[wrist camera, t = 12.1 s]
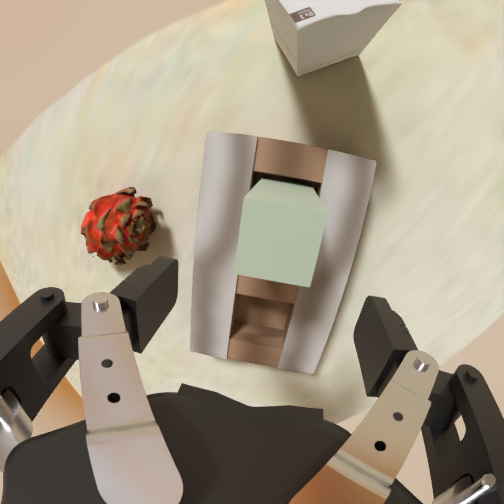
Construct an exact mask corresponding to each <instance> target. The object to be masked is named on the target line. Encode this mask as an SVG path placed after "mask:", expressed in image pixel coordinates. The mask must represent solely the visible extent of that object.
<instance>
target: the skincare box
mask: <svg viewBox="0 0 504 504" xmlns="http://www.w3.org/2000/svg"><path fill="white" fill-rule="evenodd" d="M265 3H266V6H267V10H268V14H269V18H270V23H271V27H272V31H273V35H274V39H275V40H276V42H277V43H278V45H279V47H280V48H281V50H282V51H283V53H284V55H285V56H286V58H287V60H288V61H289V63H290V65H291V66H292V68H293V70H294V72H295V73H296V75H297V76H298V77H299V76H302V75H305V74H307V73H310V72H313V71H315V70H318V69H321V68H324V67H326V66H329V65H332V64H335V63H338V62H340V61H343V60H345V59H348V58H351V57H355V56H358V55H359V54H360V53H361V52H362V51H363V50H364V48H365V47H366V46H367V45H368V43H369V42H370V41H371V40H372V38H373V37H374V36H375V35H376V33H377V32H378V31H379V30H380V29H381V28H382V26H383V25H384V24H385V23H386V22H387V20H388V19H389V18H390V17H391V16H392V14H393V13H394V12H395V11H396V10H397V9H398V7H399V6H400V5H401V3H400V1H399V0H265Z"/></svg>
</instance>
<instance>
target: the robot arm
mask: <svg viewBox="0 0 504 504" xmlns="http://www.w3.org/2000/svg"><path fill="white" fill-rule="evenodd" d="M177 293H178V261H177V260H176V259H171V258H167V257H162V256H160V257H158V258H157V259H156V260H155V261H154V262H153V263H152V264H151V265H145V266H142V267H140V268H137V269H136V270H135V271H134V272H133V273H131V275H129V276H128V277H127V278H126V279H125V280H123V281H122V282H121V283H120V284H119V285H118V286H117V287H116V288H114V289H113V290H112V291H111V292H110V293H105V292H100V293H94V294H91V295H89V296H87V297H86V298H85V299H84V300H83V301H82V303H73V302H66V301H65V296H64V292H63V291H62V290H61V289H59V288H54V287H48V288H43V289H40V290H38V291H37V292H35V293H34V294H33V295H31V296H30V297H29V298H28V299H27V300H25V301H24V302H23V303H22V304H20V305H19V306H18V307H17V308H16V309H15V310H13V311H12V312H11V313H10V314H9V315H7V316H6V317H5V318H4V319H3V320H2V321H1V322H0V471H1V472H2V473H3V494H2V501H1V504H423V503H421V501H419V500H418V499H417V498H416V497H415V496H414V495H413V494H412V493H411V492H410V491H409V490H408V489H407V488H406V487H404V486H403V485H402V484H401V483H400V482H399V481H398V480H397V479H396V478H395V477H396V476H397V474H398V472H399V471H400V469H401V467H402V465H403V463H404V461H405V460H406V458H407V456H408V454H409V452H410V450H411V448H412V446H413V444H414V442H415V440H416V438H417V436H418V434H419V432H420V429H421V431H422V435H423V439H424V444H425V448H426V453H427V458H428V464H429V469H430V475H431V481H432V488H433V495H434V500H433V502H432V504H504V419H503V417H502V414H501V412H500V410H499V408H498V406H497V403H496V401H495V399H494V397H493V395H492V393H491V391H490V389H489V387H488V385H487V383H486V381H485V379H484V377H483V376H482V374H481V373H480V372H479V371H478V370H477V369H476V368H474V367H472V366H470V365H465V364H463V365H460V366H459V367H458V368H457V370H456V371H455V373H454V374H450V373H447V372H443V371H440V370H439V366H438V363H437V362H436V360H435V359H434V358H433V357H432V356H431V355H429V354H427V353H425V352H423V351H419V350H418V349H417V347H416V345H415V343H414V341H413V339H412V337H411V335H410V333H409V331H408V329H407V327H405V326H406V325H405V323H404V322H403V320H402V318H401V317H400V316H399V315H398V314H397V313H396V312H395V311H392V310H391V308H390V306H389V304H388V302H387V300H386V299H385V298H381V297H375V296H368V297H367V298H366V300H365V302H364V305H363V308H362V310H361V313H360V316H359V318H358V321H357V323H356V326H355V330H354V343H355V347H356V351H357V355H358V359H359V363H360V367H361V372H362V376H363V381H364V385H365V390H366V394H367V396H369V397H378V400H377V401H376V403H375V404H374V406H373V407H372V408H371V410H370V411H369V413H368V414H367V415H366V417H365V418H364V419H363V421H362V422H361V423H360V425H359V426H358V427H357V428H356V430H355V431H354V432H353V434H350V433H349V432H348V431H347V430H345V429H343V428H342V427H340V426H338V425H336V424H334V423H332V422H329V421H327V420H324V419H323V409H316V408H306V407H297V406H289V405H288V406H269V407H251V406H247V405H245V404H242V403H240V402H238V401H235V400H233V399H231V398H228V397H226V396H224V395H221V394H219V393H217V392H214V391H209V390H205V389H201V388H197V387H194V386H190V385H186V384H181V386H180V389H179V391H178V393H175V392H164V393H155V394H150V395H146V393H145V390H144V387H143V384H142V381H141V378H140V374H139V371H138V368H137V364H136V361H135V357H134V354H133V351H135V352H138V353H142V352H143V350H144V349H145V347H146V346H147V344H148V343H149V341H150V340H151V338H152V337H153V336H154V334H155V333H156V331H157V330H158V328H159V327H160V325H161V324H162V323H163V321H164V320H165V318H166V317H167V315H168V314H169V312H170V311H171V310H172V308H173V307H174V305H175V303H176V299H177ZM41 336H42V338H43V340H44V343H45V344H44V346H43V347H42V348H41V349H40V350H39V351H38V352H37V353H36V354H35V356H34V357H33V358H32V359H31V356H30V353H31V348H32V346H33V345H34V344H35V342H37V340H38V339H39V338H40V337H41ZM76 360H79V366H80V379H81V389H82V398H83V405H84V413H85V420H83V421H80V422H77V423H74V424H72V425H69V426H66V427H63V428H60V429H57V430H54V431H51V432H48V433H45V434H42V435H38V436H35V437H31V435H32V431H33V425H32V421H33V420H34V418H35V417H36V415H37V414H38V412H39V411H40V409H41V408H42V406H43V405H44V403H45V402H46V401H47V399H48V398H49V396H50V395H51V394H52V392H53V391H54V389H55V388H56V387H57V385H58V384H59V383H60V381H61V380H62V378H63V377H64V376H65V374H66V373H67V372H68V370H69V369H70V368H71V366H72V365H73V364H74V362H75V361H76ZM461 415H462V418H463V420H464V423H465V426H466V433H465V436H464V438H463V439H462V440H461V441H460V439H459V436H458V433H457V429H456V427H455V421H456V420H457V419H458V418H459V417H460V416H461Z"/></svg>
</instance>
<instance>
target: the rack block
mask: <svg viewBox="0 0 504 504" xmlns="http://www.w3.org/2000/svg"><path fill="white" fill-rule="evenodd" d="M376 164H377V161H374V160H371V159H367V158H363V157H359V156H355V155H351V154H347V153H343V152H338V151H334V150H330V149H325V148H320V147H315V146H310V145H305V144H300V143H294V142H288V141H283V140H276V139H270V138H263V137H257V136H250V135H242V134H234V133H225V132H215V131H207V135H206V143H205V151H204V159H203V167H202V176H201V185H200V194H199V205H198V215H197V227H196V239H195V253H194V268H193V285H192V306H191V335H190V351H193V352H197V353H201V354H205V355H209V356H213V357H218V358H222V359H227V358H230V359H235V360H240V361H245V362H250V363H255V364H261V365H266V366H272V367H277V369H281V370H287V371H294V372H301V373H309V374H314V372H315V370H316V367H317V365H318V362H319V360H320V357H321V354H322V352H323V349H324V347H325V344H326V341H327V339H328V336H329V333H330V331H331V328H332V325H333V322H334V319H335V316H336V314H337V311H338V308H339V305H340V302H341V299H342V296H343V293H344V289H345V286H346V283H347V280H348V277H349V273H350V270H351V267H352V263H353V260H354V256H355V253H356V249H357V245H358V242H359V238H360V234H361V230H362V227H363V223H364V219H365V214H366V210H367V206H368V202H369V197H370V193H371V188H372V184H373V179H374V174H375V169H376ZM264 175H265V176H271V177H277V178H283V179H288V180H294V181H299V182H304V183H310V184H311V185H312V187H313V188H314V190H315V192H316V194H317V195H318V197H319V199H320V200H321V202H322V204H323V205H324V207H325V209H326V211H327V212H328V213H327V218H326V223H325V227H324V232H323V236H322V240H321V245H320V249H319V253H318V257H317V261H316V265H315V269H314V273H313V277H312V281H311V285H310V287H304V286H298V285H293V284H287V283H281V282H276V281H270V280H265V279H259V278H254V277H248V276H243V275H238V274H234V268H235V260H236V252H237V245H238V237H239V230H240V222H241V215H242V207H243V200H244V197H245V196H246V195H247V194H248V193H249V191H250V190H251V189H252V188H253V187H254V186H255V185H256V184H257V183H258V182H259V181H260V180H261V179H262V177H263V176H264Z"/></svg>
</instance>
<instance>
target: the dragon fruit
mask: <svg viewBox="0 0 504 504" xmlns="http://www.w3.org/2000/svg"><path fill="white" fill-rule="evenodd" d="M135 193H136V190H135V188H134V187H129V188H126V189H123V190H121V191H119V192H117V193H115V194H112V195H108V196H103V197H100V198H98V199H96V200H94V201H93V202H92V203H91V205H90V207H89V209H91V210H90V211H89V212H87V213H86V215H85V218H84V220H83V222H82V225H81V234H83V235H84V236H85V238H86V246H87V250H88V253H90V254H91V253H93V252H97V256H98V257H100V258H101V259H102V260H108V261H109V262H110V263H111V262H112V259H111V257H112V256H113V257H114V258H115V260H117V261H118V262H116V263H115V264H117V265H122V264H126V262H125V260H126V259H127V260H130V259H131V258H132V256H133V254H134V252H135V250H138V251H146V250H147V248H148V247H149V243H148V242H147V241H148V236H149V235H150V234H151V233H152V232H153V231H155V228H156V223H155V222H154V217H153V214H152V213H151V212H150V211H148V210H149V209H150V208H151V207H152V206H153V205H152V201H151V198H147V197H142V196H140V197H137V198H135V197H134V194H135ZM93 257H94V256H93ZM124 259H125V260H124Z"/></svg>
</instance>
